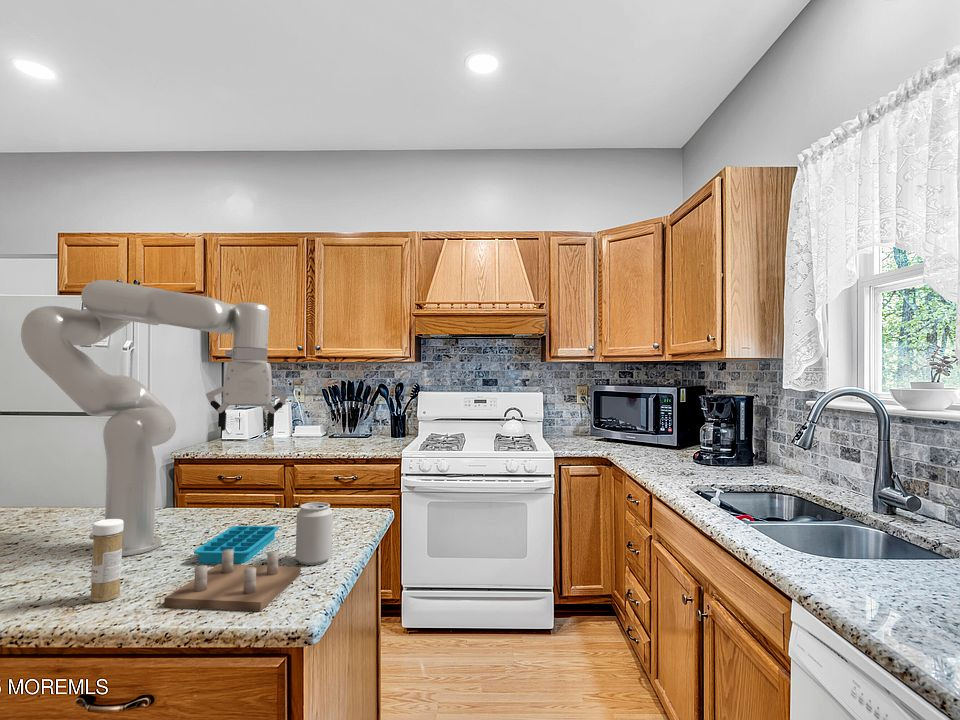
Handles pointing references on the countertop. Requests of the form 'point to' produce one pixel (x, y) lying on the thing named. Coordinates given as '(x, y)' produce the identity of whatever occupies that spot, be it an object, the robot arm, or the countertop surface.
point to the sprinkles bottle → (106, 559)
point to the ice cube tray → (236, 544)
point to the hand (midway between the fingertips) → (246, 430)
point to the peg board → (234, 585)
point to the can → (314, 533)
